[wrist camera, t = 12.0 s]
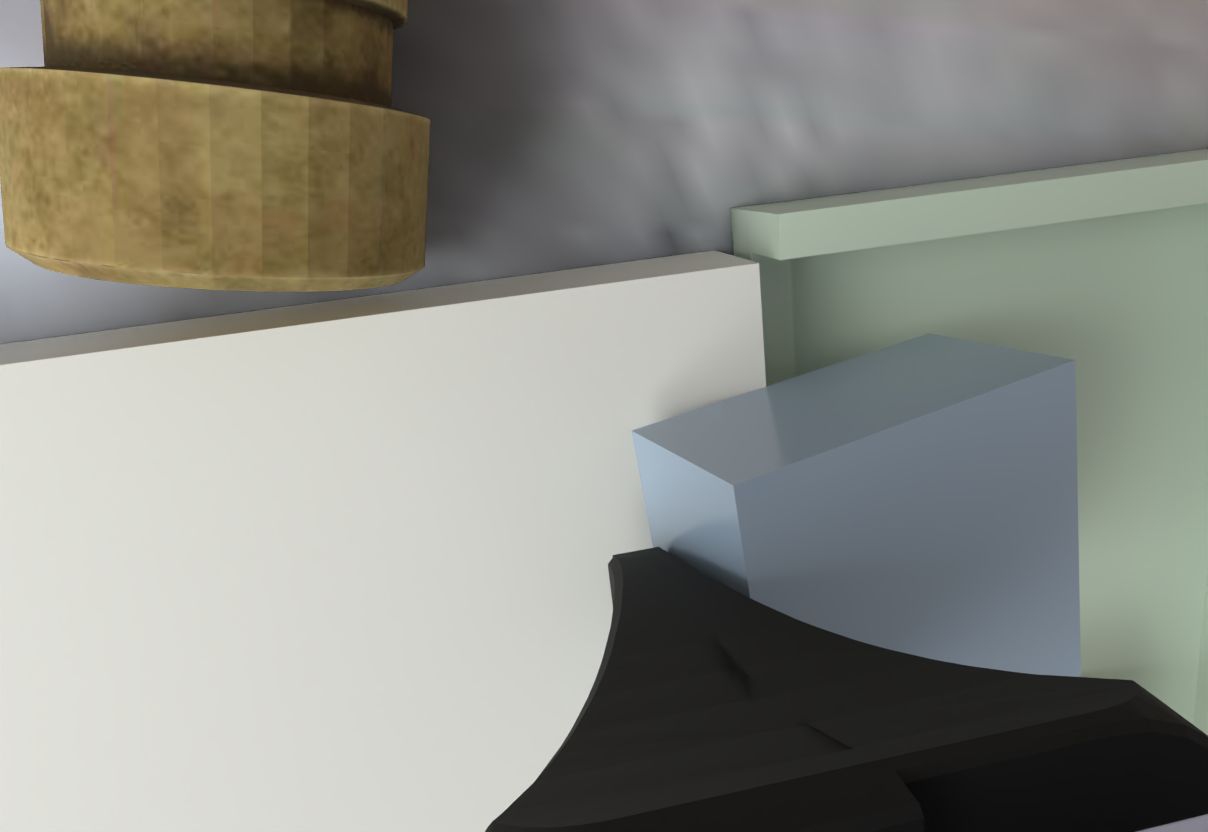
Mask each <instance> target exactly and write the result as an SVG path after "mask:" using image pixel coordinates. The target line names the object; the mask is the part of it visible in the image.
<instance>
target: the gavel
mask: <svg viewBox="0 0 1208 832" xmlns="http://www.w3.org/2000/svg"><path fill="white" fill-rule="evenodd" d="M40 3H41V18H42V33H43V49H44V64H45V67H10V68H0V181H1V193H2V206H3V219H4V231H5V243H6V246H7V247H8V248H10V249H11V250H13V251H14V252H16V253H18V254H19V255H21V256H23V257H24V258H26V259H28V260H29V261H31V262H32V263H34V264H36V265H38V266H40V267H43V268H45V269H47V270H51V271H55V272H60V273H64V274H68V275H74V276H80V277H86V278H91V279H98V280H106V281H114V282H122V283H131V284H141V285H153V286H164V287H177V288H193V289H209V290H233V291H272V292H309V291H341V290H357V289H368V288H376V287H384V286H388V285H393V284H397V283H399V282H401V281H403V280H405V279H406V278H408V277H410V276H411V275H413V274H414V273H416V272H418V271H419V270H421V269H422V268H424V267H425V242H426V216H427V191H428V166H429V140H430V119H428V118H425V117H422V116H419V115H415V114H412V113H408V112H404V111H401V110H397V109H393V108H391V93H392V58H393V29H397V28H401V27H402V26H404V25H406V24H407V8H408V0H40Z"/></svg>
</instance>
